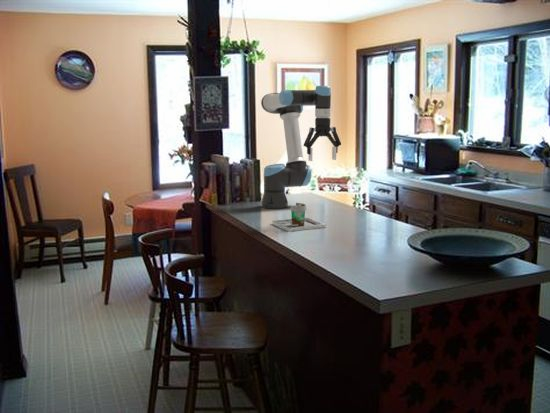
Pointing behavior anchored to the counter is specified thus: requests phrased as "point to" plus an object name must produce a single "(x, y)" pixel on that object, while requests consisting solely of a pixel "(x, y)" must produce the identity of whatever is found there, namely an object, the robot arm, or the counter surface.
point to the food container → (298, 214)
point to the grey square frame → (319, 225)
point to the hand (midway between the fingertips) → (322, 160)
